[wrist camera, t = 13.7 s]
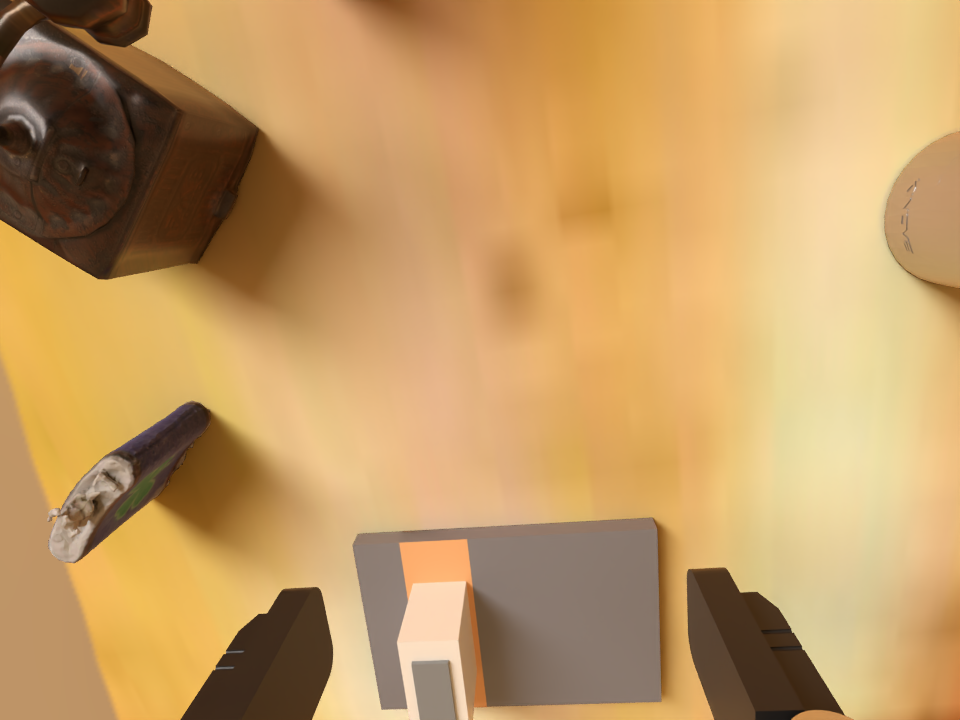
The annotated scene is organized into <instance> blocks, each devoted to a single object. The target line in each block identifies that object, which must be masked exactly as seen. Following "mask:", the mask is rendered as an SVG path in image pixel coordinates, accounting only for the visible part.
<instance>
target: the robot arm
mask: <svg viewBox="0 0 960 720" xmlns="http://www.w3.org/2000/svg"><path fill="white" fill-rule="evenodd" d="M885 234H886V237H887V241H888V245H889V248H890V250H891V251H892V253H893V255H894V257H895V259H896V260H897V261H898V262H899V263H900V264H901V265H902V266H903V267H904V268H905V270H907V271H908V272H910V273H911V274H913V275H915V276H916V277H918V278H920V279H923V280H926V281H929V282H932V283H936V284H941V285H946V286H951V287H956V288H960V131H959V132H956V133H953V134H949V135H947V136H945V137H943V138H941V139H939V140H937V141H935V142H933V143H931V144H930V145H929V146H928V147H926V148H925V149H924V150H922V151H921V152H920V153H918V154H917V155H916V156H915V157H914V158H913V159H912V160H911V161H910V163H909V164H908V165H907V166H906V167H905V168H904V169H903V171H902V172H901V174H900V176H899V177H898V179H897V180H896V182H895V183H894V186H893V188H892V191H891V193H890V196H889V198H888V201H887V207H886V212H885ZM687 606H688V636H689V644H690V649H691V654H692V658H693V662H694V665H695V668H696V670H697V673H698V676H699V679H700V681H701V684H702V687H703V689H704V692H705V695H706V698H707V700H708V703H709V706H710V709H711V711H712V714H713V717H714V719H715V720H853V719H851V718H849V717H847V716H845V715H844V713H843V711H842V710H841V708H840V707H839V705H838V703H837V702H836V700H835V699H834V697H833V695H832V694H831V692H830V691H829V689H828V687H827V686H826V684H825V682H824V681H823V679H822V678H821V676H820V674H819V673H818V671H817V670H816V668H815V666H814V665H813V663H812V662H811V660H810V658H809V657H808V655H807V654H806V652H805V650H802V646H801V644H800V642H799V641H798V639H797V638H796V636H795V634H794V633H792V631H791V628H790V626H789V625H788V623H787V621H786V620H785V618H784V617H783V615H782V613H781V612H780V610H779V609H778V608H777V607H776V606H774V605H773V604H772V603H771V602H769V601H768V600H767V599H766V598H764V597H763V596H762V595H760V594H759V593H758V592H745V593H740V592H739V590H738V588H737V586H736V584H735V582H734V581H733V579H732V577H731V575H730V573H729V572H728V570H727V569H726V568H705V569H689V570H688V572H687ZM332 662H333V645H332V640H331V635H330V630H329V625H328V621H327V616H326V611H325V606H324V601H323V597H322V593H321V591H320V589H319V588H317V587H311V588H291V589H284V590H282V591H281V592H280V594H279V595H278V597H277V599H276V600H275V602H274V604H273V605H272V607H271V608H270V610H269V612H268V613H267V614H258V615H257V616H256V617H255V618H254V619H253V620H251V621H250V622H249V623H248V624H247V625H246V626H244V627H243V628H242V629H241V630H240V631H239V632H238V633H237V635H236V636H235V638H234V639H233V641H232V642H231V644H230V645H229V647H228V648H227V650H226V654H224V655H223V656H222V658H221V659H220V661H219V662H218V664H217V665H216V669H215V670H213V671H212V673H211V674H210V676H209V677H208V679H207V680H206V682H205V683H204V685H203V686H202V688H201V689H200V691H199V692H198V694H197V696H196V697H195V699H194V700H193V702H192V703H191V705H190V706H189V708H188V709H187V711H186V712H185V714H184V715H183V717H182V718H181V720H312V718H313V715H314V713H315V711H316V708H317V706H318V703H319V701H320V698H321V696H322V693H323V691H324V688H325V686H326V684H327V681H328V679H329V676H330V673H331V669H332Z"/></svg>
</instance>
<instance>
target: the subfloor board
mask: <svg viewBox="0 0 960 720" xmlns="http://www.w3.org/2000/svg"><path fill="white" fill-rule="evenodd" d="M353 551H354V556H355V562H356V568H357V573H358V579H359V584H360V590H361V596H362V601H363V607H364V613H365V618H366V624H367V630H368V635H369V641H370V647H371V652H372V658H373V664H374V669H375V675H376V681H377V686H378V692H379V698H380V703H381V709H382V710H383V709H408V708H407V702H406V695H405V689H404V683H403V677H402V671H401V665H400V659H399V652H398V646H397V640H398V637H399V633H400V629H401V626H402V622H403V618H404V615H405V611H406V607H407V604H408V600H409V596H410V593H411V589H412V585H413V584H414V583H435V582H457V581H466V583H467V592H468V600H469V608H470V616H471V624H472V633H473V641H474V649H475V657H476V666H477V677H476V688H475V700H474V707H491V706H527V705H563V704H599V703H635V702H661V665H660V622H659V579H658V536H657V527H656V525H655V522H654V520H653V518H641V519H622V520H604V521H586V522H567V523H549V524H531V525H512V526H494V527H476V528H457V529H439V530H421V531H402V532H384V533H366V534H358V535H357V537H356V539H355V541H354V543H353Z"/></svg>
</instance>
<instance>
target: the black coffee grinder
mask: <svg viewBox="0 0 960 720" xmlns="http://www.w3.org/2000/svg"><path fill="white" fill-rule="evenodd" d="M151 11H152V5H151V4H150V2H149V1H148V0H0V220H2V221H3V222H5V223H7V224H8V225H10V226H11V227H13V228H15V229H16V230H18V231H19V232H21V233H23V234H24V235H26V236H27V237H29V238H31V239H32V240H34V241H35V242H37V243H39V244H40V245H42V246H43V247H45V248H47V249H48V250H50V251H51V252H53V253H55V254H56V255H58V256H60V257H61V258H63V259H65V260H66V261H68V262H70V263H71V264H73V265H75V266H76V267H78V268H80V269H81V270H83V271H85V272H87V273H88V274H90V275H92V276H94V277H95V278H97V279H107V280H108V279H112V278H117V277H123V276H128V275H133V274H138V273H143V272H149V271H154V270H159V269H163V268H168V267H173V266H178V265H183V264H188V263H195V264H197V263H198V261H199V260H200V258H201V256H202V255H203V253H204V251H205V249H206V248H207V246H208V244H209V243H210V241H211V239H212V237H213V236H214V234H215V232H216V231H217V229H218V227H219V226H220V224H221V222H222V221H223V220H225V219H227V217H228V216H229V214H230V212H231V210H232V209H233V206H234V204H235V201H236V199H237V196H238V195H237V191H238V186H239V183H240V181H241V179H242V177H243V174H244V172H245V170H246V167H247V165H248V163H249V161H250V158H251V155H252V151H253V148H254V144H255V140H256V136H257V133H258V128H257V127H256V126H255V125H253V124H252V123H251V122H249V121H248V120H247V119H245V118H244V117H243V116H242V115H240V114H239V113H238V112H237V111H235V110H234V109H233V108H232V107H230V106H229V105H228V104H226V103H225V102H223V101H222V100H220V99H219V98H218V97H216V96H215V95H213V94H212V93H210V92H209V91H207V90H206V89H204V88H203V87H201V86H200V85H198V84H197V83H195V82H194V81H192V80H191V79H189V78H187V77H186V76H184V75H183V74H181V73H180V72H178V71H177V70H175V69H173V68H172V67H170V66H169V65H167V64H166V63H164V62H162V61H161V60H159V59H157V58H155V57H153V56H151V55H149V54H147V53H146V52H144V51H142V50H140V49H138V48H136V47H134V46H132V45H130V44H132V43H134V42H136V41H137V40H139V39H141V38H142V37H144V36H146V35H147V34H148V28H149V22H150V17H151Z"/></svg>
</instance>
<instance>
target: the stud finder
mask: <svg viewBox="0 0 960 720" xmlns="http://www.w3.org/2000/svg"><path fill="white" fill-rule="evenodd" d="M397 646H398V652H399V659H400V665H401V671H402V677H403V683H404V689H405V695H406V702H407V708H408V714H409V720H473V711H474V700H475V688H476V677H477V666H476V657H475V649H474V641H473V633H472V624H471V616H470V608H469V600H468V592H467V583H466V581H457V582H435V583H414V584H413V585H412V589H411V593H410V596H409V600H408V604H407V607H406V611H405V615H404V618H403V622H402V626H401V629H400V633H399V637H398V640H397Z"/></svg>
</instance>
